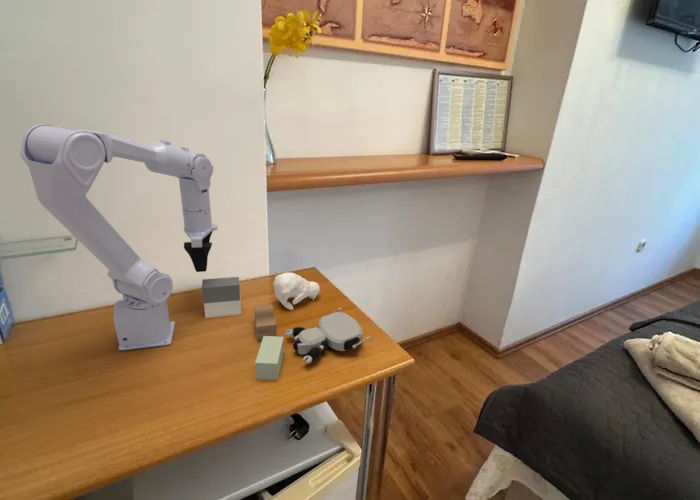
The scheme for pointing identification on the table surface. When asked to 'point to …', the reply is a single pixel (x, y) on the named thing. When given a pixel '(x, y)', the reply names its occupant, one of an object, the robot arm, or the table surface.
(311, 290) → the white animal figurine
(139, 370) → the table surface
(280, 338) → the sage brick
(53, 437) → the table surface
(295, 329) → the robot toy
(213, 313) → the off-white brick
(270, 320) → the walnut brick
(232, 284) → the charcoal brick
